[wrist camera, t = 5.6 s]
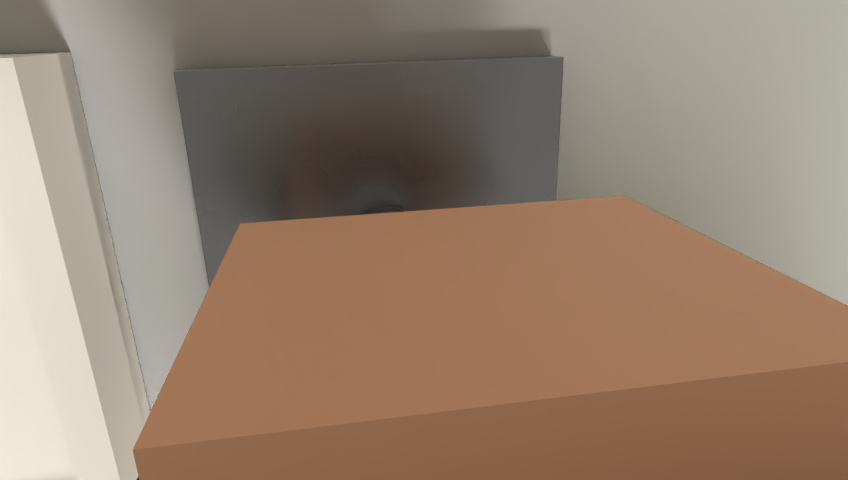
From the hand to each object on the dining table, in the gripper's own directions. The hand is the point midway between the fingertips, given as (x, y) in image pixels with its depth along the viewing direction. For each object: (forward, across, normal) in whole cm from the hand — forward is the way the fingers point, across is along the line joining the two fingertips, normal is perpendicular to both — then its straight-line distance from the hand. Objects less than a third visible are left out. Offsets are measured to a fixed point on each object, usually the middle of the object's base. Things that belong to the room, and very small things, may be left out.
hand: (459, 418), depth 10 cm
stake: (+8, 0, -1) cm, 8 cm away
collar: (+1, 0, 0) cm, 1 cm away
